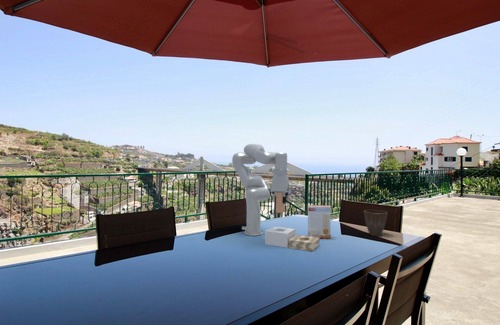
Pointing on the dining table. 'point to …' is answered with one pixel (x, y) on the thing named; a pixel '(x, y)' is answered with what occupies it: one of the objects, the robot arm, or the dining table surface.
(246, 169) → the robot arm
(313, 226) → the cracker box
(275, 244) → the upper socket
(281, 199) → the plug
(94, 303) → the dining table surface
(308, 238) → the lower socket
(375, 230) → the plant pot
